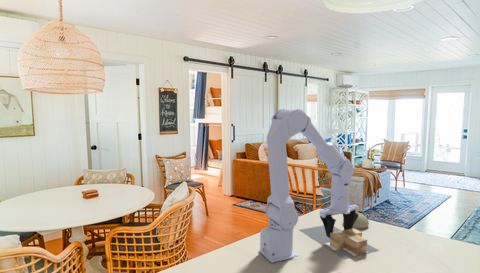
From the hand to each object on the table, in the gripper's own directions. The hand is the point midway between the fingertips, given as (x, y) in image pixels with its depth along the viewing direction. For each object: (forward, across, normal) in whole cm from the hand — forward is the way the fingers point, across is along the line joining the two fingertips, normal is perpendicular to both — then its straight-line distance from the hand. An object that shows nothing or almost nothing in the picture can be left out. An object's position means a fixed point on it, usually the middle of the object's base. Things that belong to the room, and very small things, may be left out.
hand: (338, 235), depth 100 cm
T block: (+2, 0, -6) cm, 6 cm away
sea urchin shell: (+3, +16, +8) cm, 18 cm away
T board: (+2, 0, +1) cm, 3 cm away
